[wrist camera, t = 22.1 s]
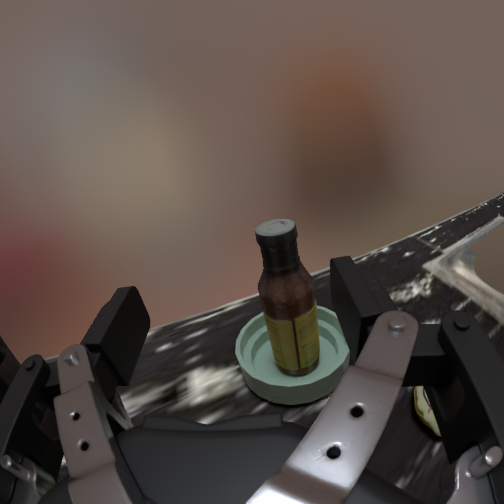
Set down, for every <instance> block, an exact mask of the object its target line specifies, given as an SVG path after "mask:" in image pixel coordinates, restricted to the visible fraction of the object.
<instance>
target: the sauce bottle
mask: <svg viewBox="0 0 504 504" xmlns="http://www.w3.org/2000/svg"><path fill="white" fill-rule="evenodd" d="M255 234H256V240H257V243H258V244H259V246H260V248H261V253H262V258H263V267H264V269H263V272H262V275H261V278H260V280H259V283H258V291H259V295H260V299H261V303H262V310H263V314H264V318H265V322H266V326H267V331H268V335H269V339H270V343H271V347H272V351H273V355H274V359H275V362H276V363H277V365H278V366H279V368H280V369H281V370H282V371H283V372H284V373H286V374H290V375H303V374H306V373H308V372H310V371H311V370H313V369H314V368H315V367H316V366H317V364H318V362H319V356H320V355H319V354H320V341H319V328H318V316H317V306H316V298H315V295H314V288H313V278H312V276H311V275H310V274H309V273H308V271H307V270H306V269H305V267H304V266H303V264H302V263H301V261H300V257H299V255H298V250H297V242H296V238H297V235H298V234H297V229H296V225H295V223H294V222H293V221H292V220H287V219H274V220H269V221H267V222H264V223H262V224H261V225H259V226H258V227H257V228H256V230H255Z"/></svg>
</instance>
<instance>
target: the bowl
mask: <svg viewBox="0 0 504 504" xmlns="http://www.w3.org/2000/svg"><path fill="white" fill-rule="evenodd" d="M317 316H318V328H319V341H320V354H319V355H320V356H319V362H318V364H317V366H316V367H315V368H314V369H313V370H311V371H310V372H308V373H306V374H303V375H290V374H286V373H284V372H283V371H282V370H281V369H280V368H279V366H278V365H277V363H276V362H275V359H274V355H273V351H272V347H271V343H270V339H269V335H268V331H267V326H266V322H265V318H264V314H263V312H262V313H261V314H259V315H257V316H256V317H254V318H252V319H251V320H250V321H249V322H248V323H247V324H246V325H245V326H244V327H243V328H242V330H241V332H240V334H239V336H238V338H237V340H236V352H235V353H236V357H237V360H238V363H239V366H240V369H241V372H242V375H243V377H244V380H245V382H246V384H247V386H248V387H249V388H250V389H251V390H252V391H253V392H254V393H255V394H257V395H258V396H260V397H262V398H264V399H266V400H268V401H271V402H273V403H279V404H287V405H296V404H303V403H309V402H313V401H315V400H317V399H319V398H321V397H324V396H326V395H328V394H329V393H330V392H331V391H332V390H334V389H335V388H336V387H337V385H338V383H339V381H340V380H341V378H342V376H343V374H344V373H345V371H346V369H347V368H348V366H349V358H350V351H349V348H348V346H347V343H346V340H345V337H344V335H343V332H342V329H341V326H340V324H339V321H338V318H337V316H336V313H334V312H332V311H331V310H329V309H327V308H325V307H321V306H317Z"/></svg>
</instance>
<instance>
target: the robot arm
mask: <svg viewBox="0 0 504 504" xmlns="http://www.w3.org/2000/svg"><path fill="white" fill-rule="evenodd" d="M330 284H331V300H332V304H333V308H334V310H335V313H336V316H337V318H338V321H339V324H340V326H341V329H342V332H343V335H344V337H345V340H346V343H347V346H348V348H349V351H350V354H351V357H352V360H353V363H354V365H352V364H350V365H349V366H348V368H347V369H346V371H345V373H344V374H343V376H342V378H341V380H340V381H339V383H338V385H337V387H336V388H335V390H334V392H333V393H332V395H331V397H330V398H329V400H328V402H327V403H326V405H325V406H324V408H323V409H322V411H321V413H320V414H319V416H318V417H317V419H316V420H315V422H314V423H313V425H312V426H311V428H310V427H308V426H305V425H302V424H299V423H293V422H287V421H283V419H282V414H281V412H276V413H267V414H256V415H244V416H241V417H237V418H234V419H230V420H226V421H222V422H218V423H214V424H209V425H206V424H201V423H197V422H193V421H189V420H185V419H181V418H177V417H168V416H150V415H145V417H144V421H143V425H138V426H135V427H133V425H132V423H131V421H130V419H129V416H128V414H127V412H126V410H125V408H124V405H123V403H122V401H121V398H120V396H119V394H118V392H117V391H116V390H115V389H116V387H117V386H129V383H130V380H131V377H132V374H133V371H134V369H135V366H136V363H137V360H138V358H139V355H140V352H141V350H142V347H143V344H144V342H145V339H146V336H147V334H148V331H149V329H150V317H149V314H148V312H147V310H146V307H145V305H144V303H143V301H142V298H141V296H140V294H139V291H138V290H137V288H136V287H135V286H131V287H122V288H118V289H117V290H116V292H115V293H114V295H113V296H112V298H111V300H110V301H109V302H108V303H106V304H105V305H104V306H103V307H102V308H101V310H100V311H99V313H98V315H97V317H96V318H95V320H94V321H93V324H92V325H91V326H90V328H89V329H88V331H87V333H86V335H85V336H84V338H83V340H82V341H81V343H80V345H79V344H76V345H72V346H70V347H68V348H66V349H65V350H64V351H63V352H62V353H61V354H60V355H59V357H58V359H57V361H56V362H52V363H48V364H47V363H46V362H45V360H44V359H43V358H42V357H41V355H37V354H36V355H32V356H30V357H29V358H27V359H26V360H25V361H24V362H23V363H22V365H21V364H20V363H19V362H18V360H17V359H16V358H15V356H14V355H13V354H12V352H11V351H10V349H9V348H8V347H7V345H6V344H5V342H4V341H3V340H2V338H1V336H0V504H425V503H424V502H422V501H420V500H418V499H417V498H415V497H413V496H412V495H410V494H408V493H407V492H405V491H403V490H402V489H400V488H399V487H397V486H395V485H394V484H392V483H391V482H389V481H388V480H386V479H385V478H383V477H382V476H380V475H379V474H377V473H376V472H374V471H373V470H371V469H370V468H368V467H367V466H366V464H367V462H368V460H369V458H370V456H371V455H372V453H373V451H374V449H375V447H376V445H377V443H378V440H379V438H380V436H381V434H382V432H383V430H384V428H385V425H386V423H387V421H388V418H389V416H390V414H391V411H392V409H393V406H394V404H395V401H396V399H397V396H398V394H399V391H400V388H401V387H409V386H423V387H424V390H425V392H426V395H427V398H428V400H429V403H430V406H431V408H432V411H433V414H434V417H435V420H436V422H437V425H438V428H439V431H440V434H441V438H442V441H443V444H444V447H445V450H446V454H447V457H448V461H449V464H450V465H449V466H448V467H447V468H446V470H445V471H444V472H443V474H442V476H441V479H440V484H439V488H440V494H439V498H438V501H437V503H436V504H504V360H503V359H502V357H501V356H500V354H499V352H498V351H497V349H496V348H495V346H494V345H493V343H492V341H491V340H490V338H489V337H488V335H487V334H486V333H485V331H484V330H483V328H482V327H481V325H480V324H479V322H478V321H477V320H476V319H475V317H473V316H472V315H471V314H469V313H467V312H464V311H451V312H449V313H447V314H446V315H445V316H444V317H443V319H442V322H441V324H418V323H417V321H416V319H415V318H414V317H413V316H411V315H410V314H408V313H406V312H402V311H399V310H398V309H397V307H396V306H395V304H394V302H393V301H392V299H391V298H390V296H389V295H388V293H387V292H386V290H385V289H384V288H383V286H382V284H381V283H380V282H379V280H378V278H377V277H376V275H375V274H374V272H373V271H371V270H369V269H368V268H366V267H365V266H361V267H356V265H355V263H354V262H353V260H352V259H351V257H350V256H344V257H338V258H332V259H331V260H330ZM63 455H64V456H65V460H66V463H67V467H68V470H69V475H68V476H67V477H65V478H64V479H63V480H61V481H60V482H59V483H58V484H56V482H57V478H58V474H59V470H60V466H61V463H62V459H63Z"/></svg>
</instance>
